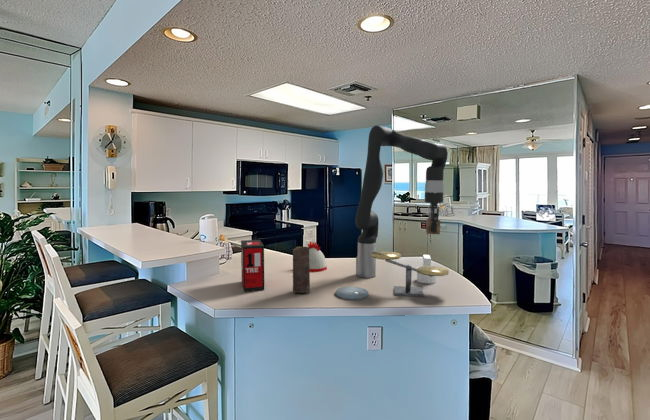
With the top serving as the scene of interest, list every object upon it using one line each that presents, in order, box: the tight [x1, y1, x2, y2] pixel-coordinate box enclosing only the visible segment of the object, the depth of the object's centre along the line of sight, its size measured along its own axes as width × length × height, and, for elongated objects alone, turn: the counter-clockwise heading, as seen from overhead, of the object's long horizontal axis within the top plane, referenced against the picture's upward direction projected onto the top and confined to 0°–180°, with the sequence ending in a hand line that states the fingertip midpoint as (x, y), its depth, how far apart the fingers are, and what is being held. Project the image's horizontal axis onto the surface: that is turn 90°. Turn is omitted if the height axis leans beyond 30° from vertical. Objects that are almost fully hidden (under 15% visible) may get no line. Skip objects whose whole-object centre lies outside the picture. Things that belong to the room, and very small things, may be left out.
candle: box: [292, 246, 311, 294], centre depth 152 cm, size 8×7×20 cm
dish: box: [335, 286, 369, 301], centre depth 150 cm, size 14×14×1 cm
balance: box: [371, 250, 450, 298], centre depth 152 cm, size 33×13×16 cm, turn 80°
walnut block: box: [425, 218, 441, 235], centre depth 149 cm, size 5×5×6 cm
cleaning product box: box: [240, 239, 265, 293], centre depth 161 cm, size 16×9×20 cm, turn 17°
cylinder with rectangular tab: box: [416, 254, 437, 284], centre depth 170 cm, size 9×9×12 cm
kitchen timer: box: [307, 241, 328, 273], centre depth 193 cm, size 14×14×15 cm
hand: (432, 231), depth 149 cm, fingers closed on walnut block, 5 cm apart
